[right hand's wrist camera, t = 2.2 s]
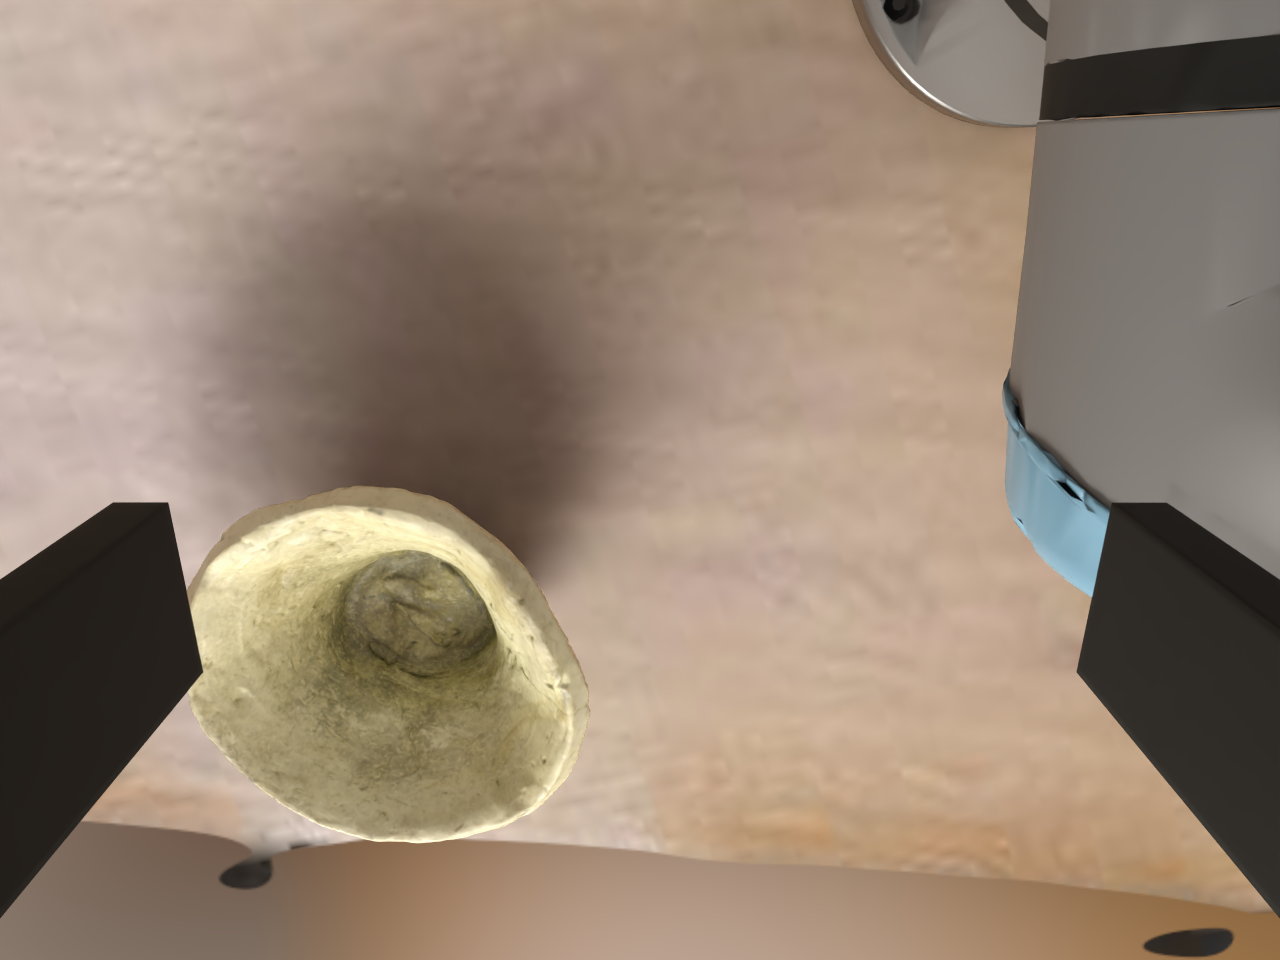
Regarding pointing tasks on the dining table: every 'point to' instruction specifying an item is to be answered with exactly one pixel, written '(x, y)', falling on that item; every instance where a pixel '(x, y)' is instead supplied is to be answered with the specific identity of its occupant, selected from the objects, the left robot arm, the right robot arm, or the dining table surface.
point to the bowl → (384, 666)
